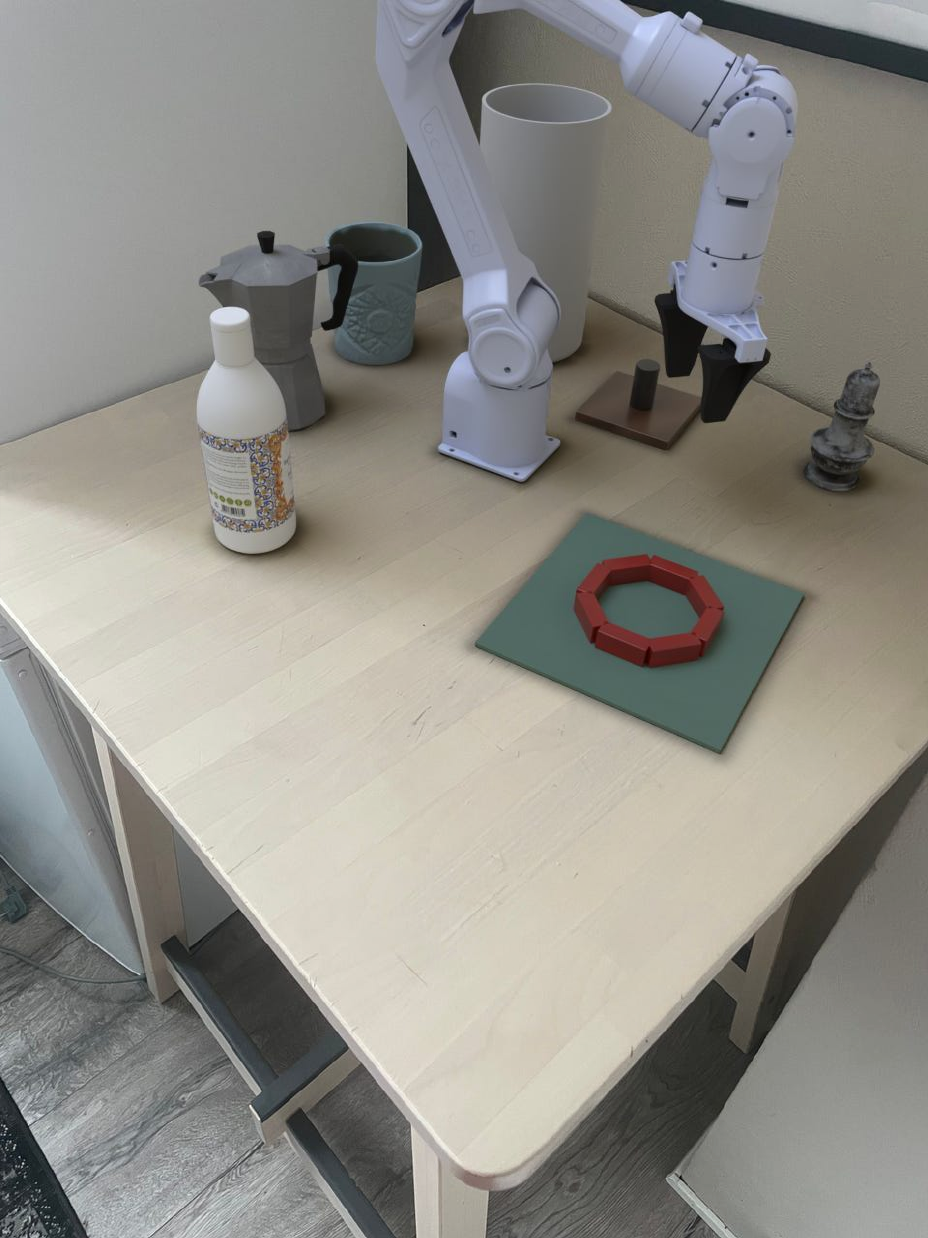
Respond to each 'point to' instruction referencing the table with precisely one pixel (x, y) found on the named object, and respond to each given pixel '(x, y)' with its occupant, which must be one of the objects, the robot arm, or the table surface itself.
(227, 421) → the bath foam
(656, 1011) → the table surface
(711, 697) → the mat
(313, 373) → the coffeepot
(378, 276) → the teal embossed mug
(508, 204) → the cylinder vase
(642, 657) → the ring
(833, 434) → the salt shaker
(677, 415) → the ring holder
